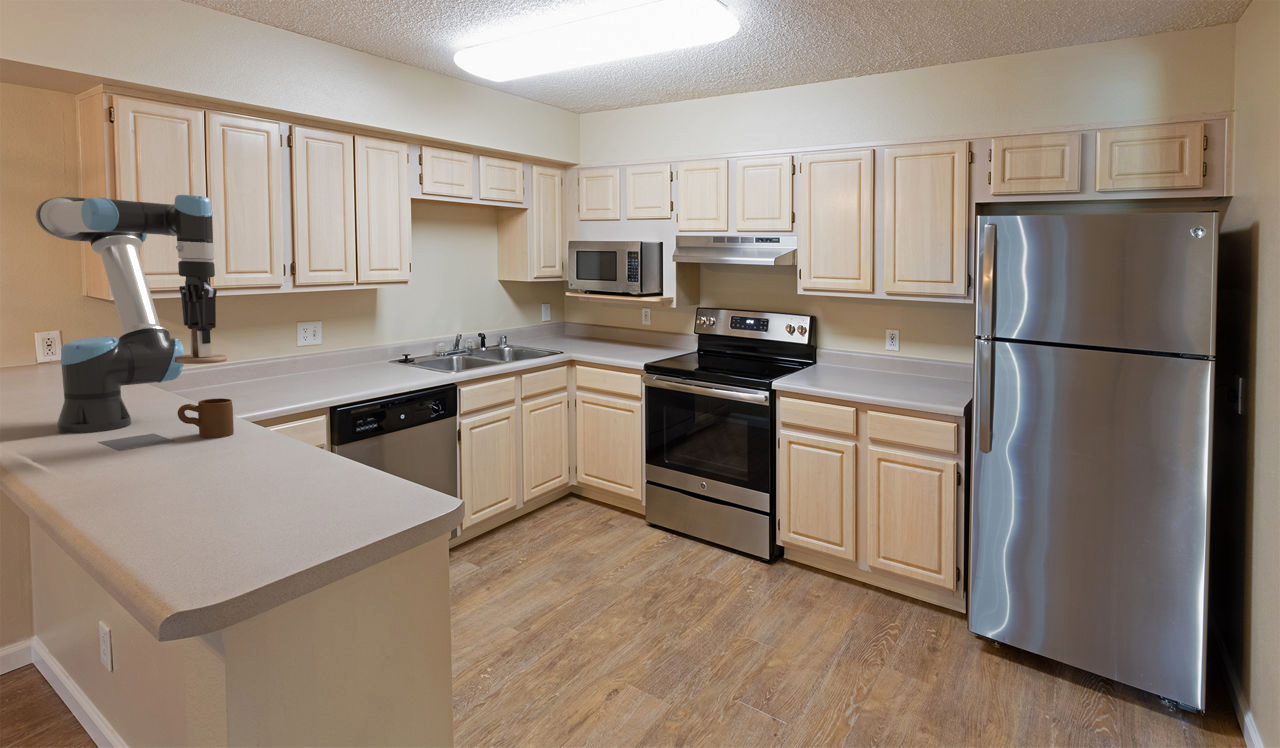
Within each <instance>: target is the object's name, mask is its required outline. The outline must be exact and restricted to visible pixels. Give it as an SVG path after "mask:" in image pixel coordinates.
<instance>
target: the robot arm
mask: <svg viewBox="0 0 1280 748" xmlns="http://www.w3.org/2000/svg"><path fill="white" fill-rule="evenodd" d="M35 218H36V222H37V224H38V225H39V226H40V227H39V228H41V229H42V230H43V231H44V232H45V233H47V234H49V235H51V236H53V237H56V238H59V239H63V240H67V241H72V242H73V241H74V242H89V243H90V246H91V249H92V251H93V252H94V253H96V254H99V255H100V257H101V260H102V263H103V267H104V270H105V274H106V277H107V281H108V283H109V288H110V291H111V294H112V298H113V300H114V305H115V308H116V312H117V315H118V318H119V322H120V323H119V324H120V325H121V329H122V333H121V335H119V337H118V338H117V337H115V336H99V337H98V336H96V337H95V336H93V337H88V338H80V339H76V340H72V341H69V342H66V343H65V344H64V345H62V347H61V348H60V361H59V362H60V364H61V374H62V385H63V398H64V401H63V405H62V407H61V411H60V414H59V417H58V420H57V424H56V425H57V431H58V433H60V434H92V433H100V432H101V433H102V432H103V433H104V432H110V431H115V430H121V429H124V428H125V429H126V428H127V427H130V426H131V425H132V417H131V415H130V413H129V411H128V408H127V407H126V404H125V401H124V400H123V399H122V390H121V387H122V386H123V387H124V386H131V385H132V386H133V385H142V384H153V383H159V384H161V383H162V382H168V381H169V382H170V381H173V380H176V379H178V378H179V377H180V375H181V374H182V372H183V369H184V364H183V363H176V362H175V357H176V356H182V355H185V349H184V345H183V343H182V342H181V340H180V339H179V338H175V337H172V336H171V334H170V331H169V330H168V329H167V328H165V327H163V326H161V324H160V320H159V318H158V317H159V316H158V314H157V311H156V307H155V304H154V303H155V302H154V301H153V296H152V293H151V290H150V287H149V283H148V281H147V277H146V273H145V269H144V266H143V264H142V260H141V256H140V253H139V250H141V248H142V247H143V243H145V241H146V239H147V235H163V236H169V237H170V236H172V237H176V243H177V244H176V246H175V249H176V250H177V258H178V259H181V260H179V261H178V262H177V264H178V265H177V266H178V267H177V269H178V276H180V277H183V278H184V277H185V281H184V285H180V286H179V288H178V289H179V291H180V296H181V307H182V317H183V325H184V326H185V327H186V326H187V328H188V329H187V330H188V331H189V347H190V355H191V356H193V340H192V329H193V328H197V329H196V330H197V336H198V355H199V357H210V356H212V354H213V353H212V340H211V339H212V337H211V336H212V335H211V334H212V333H211V331H213V330H212V329H216V327H217V323H216V322H217V319H216V317H217V315H216V314H217V312H216V311H217V310H216V305H217V304H216V301H217V300H216V298H217V293H218V290H217V288H212V286H211V283H210V279H209V278H213V277H215V276H216V270H215V263H214V262H213V261H212V260H214V259H215V245H214V227H213V226H214V225H213V210H212V202H211V199H210V198H209V197H207V196H203V195H192V194H177V195H176V196H175V197H174V203H173V204H169V203H159V202H158V203H156V202H147V201H146V202H145V201H133V200H131V201H130V200H123V199H111V198H106V197H88V198H84V197H75V196H59V197H52V198H48V199H46V200H44V201H42V202H41V203H40V204H39V205H38V206H37V208H36V210H35Z"/></svg>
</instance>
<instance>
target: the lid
mask: <svg viewBox="0 0 1280 748" xmlns="http://www.w3.org/2000/svg"><path fill="white" fill-rule="evenodd" d="M196 329H197V328H193V329H192V340H193V356H191V354H184V355H182V356H176V357H175V362H176V363H183V364H185V365H187V364H188V365H201V364H202V365H203V364H205V365H206V364H217V363H223V362H226V361H228V360H227V358H228V357H227V355H225V354H219V353H218V354H214V353H212V356H210V357H199V355H198V336H197V330H196Z"/></svg>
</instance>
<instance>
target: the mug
mask: <svg viewBox="0 0 1280 748" xmlns="http://www.w3.org/2000/svg"><path fill="white" fill-rule="evenodd" d="M233 407H234V406H233V401H232V399H231V398H230V399H229V398H207V399H202V400H198V404H197V405H196V404H192V403H188V404H187V403H186V404H183V405H181V406H180V407H179V408H178V410H177V417H178V419H179V420H180V421H181V422H182V423H183V424H187V425H188V424H189V425H195V426H196V427H198V432H199V433H198V434H199V437H200V438H203V439H222V438H227V437H228V438H229V437H232V436H233V435H234V431H235V430H234V429H235V428H234V410H233V409H234V408H233ZM186 411H191V412H195V413H197V417H194V416H191V417H190V416H189V417H188V416H187V415H186V413H185V412H186Z"/></svg>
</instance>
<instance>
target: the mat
mask: <svg viewBox="0 0 1280 748" xmlns="http://www.w3.org/2000/svg"><path fill="white" fill-rule="evenodd" d="M97 443H98V444H101V445H104V446H106V447H109V448H110V449H111V448H112V449H113V450H116V451H119V452H122V451H128V450H129V451H130V450H135V449H141V448H146V447H152V446H153V447H154V446H158V445H165V444H170V443H177V441H176V440H173V439H171V438H168V437H167V436H162V435H159V434H157V433H149V434H148V433H147V434H142V435H141V434H140V435H134V436H127V437H121V438H114V439H108V440H102V441H97Z"/></svg>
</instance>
